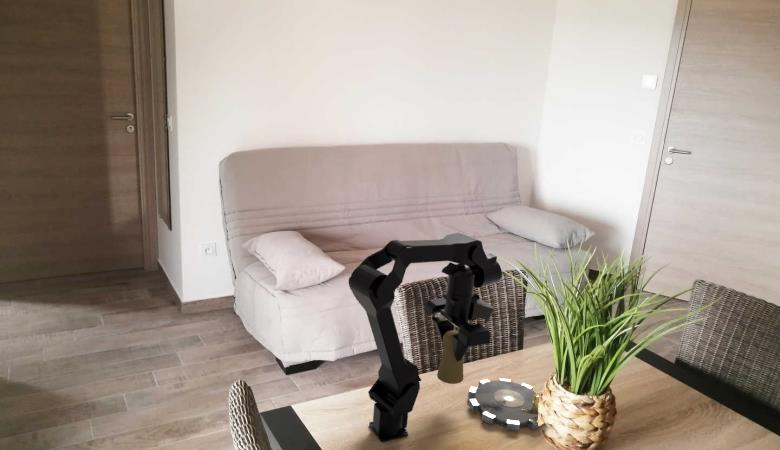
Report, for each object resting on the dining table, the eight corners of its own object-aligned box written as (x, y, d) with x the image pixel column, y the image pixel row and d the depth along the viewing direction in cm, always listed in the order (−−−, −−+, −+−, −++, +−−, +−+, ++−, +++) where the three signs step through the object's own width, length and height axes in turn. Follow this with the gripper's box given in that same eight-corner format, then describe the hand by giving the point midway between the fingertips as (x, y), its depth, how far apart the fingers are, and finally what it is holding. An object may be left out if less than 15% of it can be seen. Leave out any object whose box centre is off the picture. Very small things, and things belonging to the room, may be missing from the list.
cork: (462, 385, 129) (467, 341, 126) (435, 381, 130) (440, 336, 127) (464, 372, 135) (469, 329, 132) (438, 367, 136) (443, 325, 133)
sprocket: (524, 442, 123) (528, 418, 121) (452, 405, 134) (455, 382, 132) (562, 407, 136) (566, 385, 135) (494, 376, 148) (497, 355, 146)
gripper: (516, 303, 122) (506, 369, 127) (467, 272, 138) (460, 331, 143) (472, 310, 117) (463, 378, 122) (426, 277, 133) (420, 338, 138)
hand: (452, 355), depth 131 cm, fingers closed on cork, 5 cm apart
